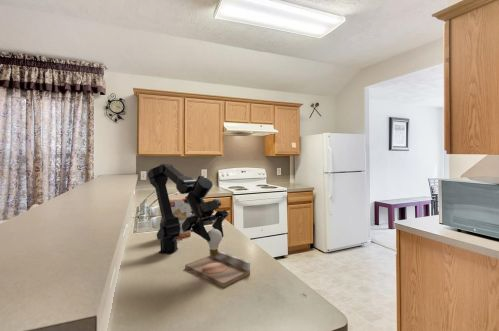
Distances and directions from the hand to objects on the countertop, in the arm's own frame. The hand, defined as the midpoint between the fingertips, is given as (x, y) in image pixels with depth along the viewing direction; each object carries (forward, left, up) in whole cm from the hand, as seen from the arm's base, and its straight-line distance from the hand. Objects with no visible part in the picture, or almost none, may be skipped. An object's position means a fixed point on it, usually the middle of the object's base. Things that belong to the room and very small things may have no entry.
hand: (216, 238), depth 94 cm
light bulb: (-1, +1, -7) cm, 7 cm away
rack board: (0, +2, -13) cm, 13 cm away
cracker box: (-35, +38, -13) cm, 53 cm away
